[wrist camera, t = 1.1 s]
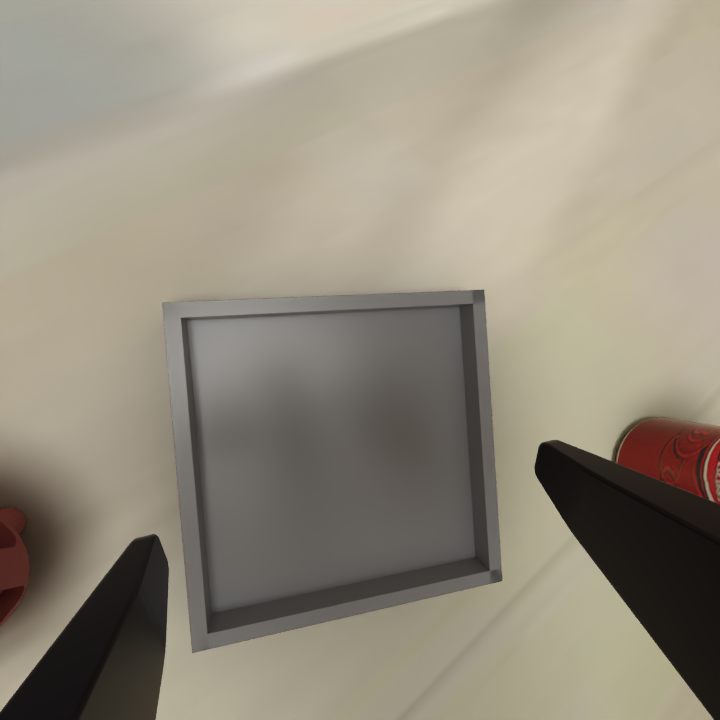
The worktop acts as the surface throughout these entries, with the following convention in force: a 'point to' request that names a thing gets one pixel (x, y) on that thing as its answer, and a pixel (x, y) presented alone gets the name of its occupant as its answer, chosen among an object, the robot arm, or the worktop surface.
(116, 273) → the worktop surface
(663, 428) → the soda can
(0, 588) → the mechanical component
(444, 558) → the tray
